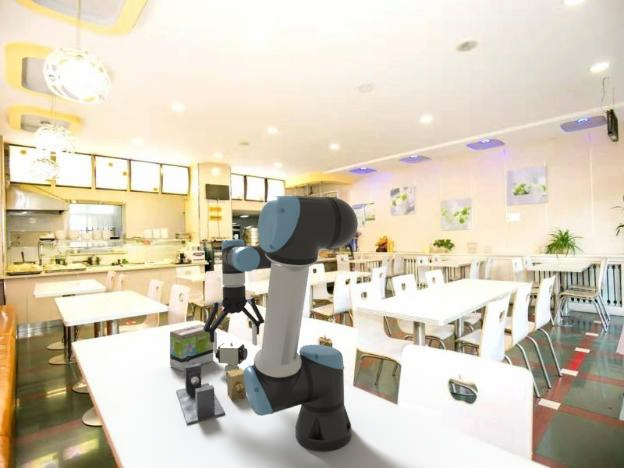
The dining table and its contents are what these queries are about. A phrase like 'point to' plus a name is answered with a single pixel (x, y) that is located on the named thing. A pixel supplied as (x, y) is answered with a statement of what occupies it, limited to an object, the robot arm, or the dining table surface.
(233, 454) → the dining table surface
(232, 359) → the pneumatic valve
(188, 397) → the base
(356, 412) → the dining table surface
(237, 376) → the gold metallic block
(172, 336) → the tea box
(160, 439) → the dining table surface
